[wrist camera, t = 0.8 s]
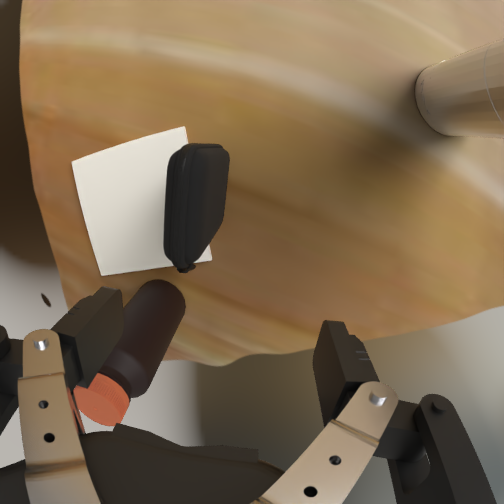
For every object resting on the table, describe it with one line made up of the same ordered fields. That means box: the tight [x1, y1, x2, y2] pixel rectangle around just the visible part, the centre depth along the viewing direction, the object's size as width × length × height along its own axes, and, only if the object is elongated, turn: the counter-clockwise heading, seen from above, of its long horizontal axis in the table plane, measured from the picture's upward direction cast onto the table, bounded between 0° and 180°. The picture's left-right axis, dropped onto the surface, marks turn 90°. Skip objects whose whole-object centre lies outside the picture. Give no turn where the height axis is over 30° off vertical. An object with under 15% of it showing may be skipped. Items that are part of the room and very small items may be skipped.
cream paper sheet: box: [72, 126, 212, 276], centre depth 35 cm, size 16×16×1 cm
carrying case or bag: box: [163, 143, 230, 273], centre depth 28 cm, size 11×3×15 cm, turn 173°
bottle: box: [73, 280, 186, 426], centre depth 30 cm, size 7×7×20 cm
